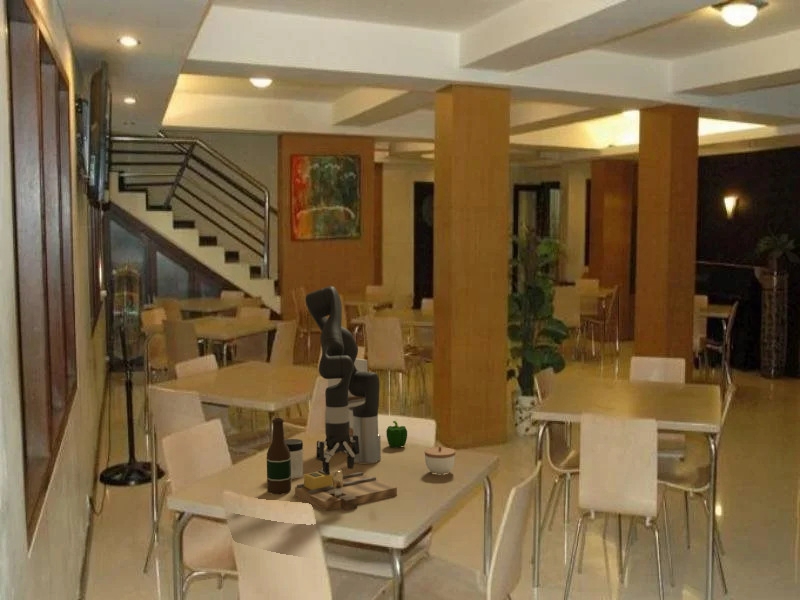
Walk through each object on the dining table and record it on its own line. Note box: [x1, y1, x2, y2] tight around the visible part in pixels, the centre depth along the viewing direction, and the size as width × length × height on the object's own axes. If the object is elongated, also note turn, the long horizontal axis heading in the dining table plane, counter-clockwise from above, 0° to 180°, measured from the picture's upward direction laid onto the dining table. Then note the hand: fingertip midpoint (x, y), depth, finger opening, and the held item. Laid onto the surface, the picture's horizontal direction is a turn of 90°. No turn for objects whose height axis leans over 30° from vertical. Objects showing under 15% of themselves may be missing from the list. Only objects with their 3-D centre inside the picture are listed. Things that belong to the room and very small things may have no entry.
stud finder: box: [303, 469, 333, 490], centre depth 273 cm, size 7×6×4 cm
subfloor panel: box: [294, 471, 398, 512], centre depth 272 cm, size 26×26×3 cm
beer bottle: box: [266, 417, 292, 495], centre depth 277 cm, size 8×8×24 cm
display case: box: [327, 357, 369, 454], centre depth 332 cm, size 11×11×35 cm
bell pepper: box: [385, 420, 408, 448], centre depth 335 cm, size 8×8×10 cm
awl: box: [332, 469, 344, 497], centre depth 265 cm, size 3×3×10 cm
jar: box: [284, 438, 304, 480], centre depth 295 cm, size 9×8×12 cm
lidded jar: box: [424, 445, 456, 474], centre depth 297 cm, size 11×11×9 cm
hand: (338, 471), depth 264 cm, fingers open, 8 cm apart
